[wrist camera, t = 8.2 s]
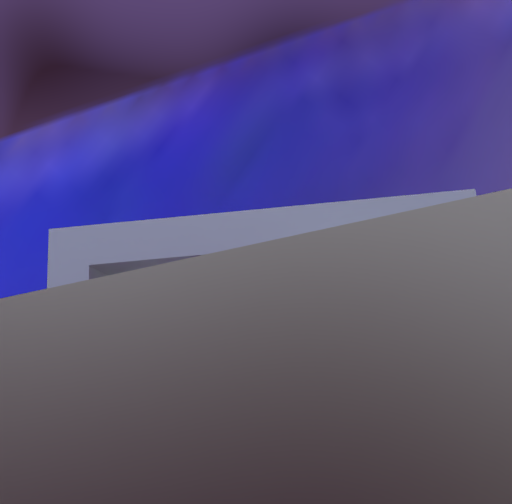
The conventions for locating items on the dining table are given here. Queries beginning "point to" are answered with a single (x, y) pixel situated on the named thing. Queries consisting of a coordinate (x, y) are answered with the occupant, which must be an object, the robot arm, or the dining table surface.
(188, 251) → the box
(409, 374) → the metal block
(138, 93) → the dining table surface
